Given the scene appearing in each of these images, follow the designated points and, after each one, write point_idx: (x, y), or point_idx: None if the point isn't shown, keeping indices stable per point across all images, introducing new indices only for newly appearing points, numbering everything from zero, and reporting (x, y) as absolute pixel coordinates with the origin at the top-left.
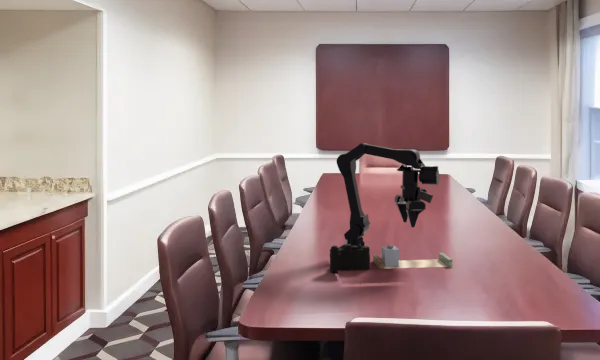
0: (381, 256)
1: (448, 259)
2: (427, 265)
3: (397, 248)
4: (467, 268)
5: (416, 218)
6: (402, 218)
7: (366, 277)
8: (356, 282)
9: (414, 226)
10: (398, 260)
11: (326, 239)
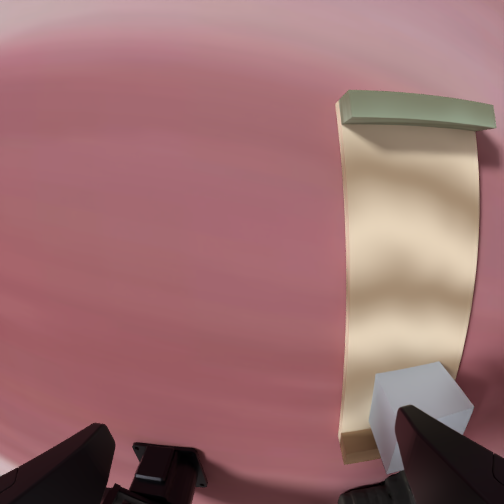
0: (376, 439)
1: (493, 125)
2: (455, 228)
3: (452, 415)
4: (443, 40)
5: (497, 465)
6: (104, 484)
7: (471, 436)
8: (491, 446)
9: (415, 408)
10: (450, 377)
11: (28, 459)
